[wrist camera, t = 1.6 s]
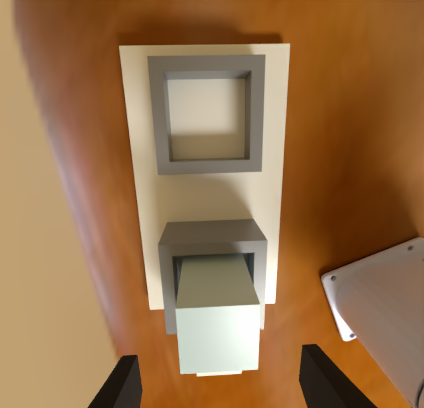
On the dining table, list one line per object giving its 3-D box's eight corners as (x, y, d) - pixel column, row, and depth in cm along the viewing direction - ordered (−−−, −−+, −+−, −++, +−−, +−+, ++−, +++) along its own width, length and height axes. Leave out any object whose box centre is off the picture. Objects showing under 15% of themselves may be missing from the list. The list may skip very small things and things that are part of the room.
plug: (184, 249, 17) (175, 308, 11) (239, 247, 17) (260, 304, 11) (187, 303, 18) (181, 382, 12) (239, 301, 18) (257, 378, 12)
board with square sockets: (124, 51, 16) (89, 13, 11) (284, 49, 16) (320, 11, 11) (152, 301, 21) (137, 349, 16) (271, 295, 22) (291, 341, 17)
